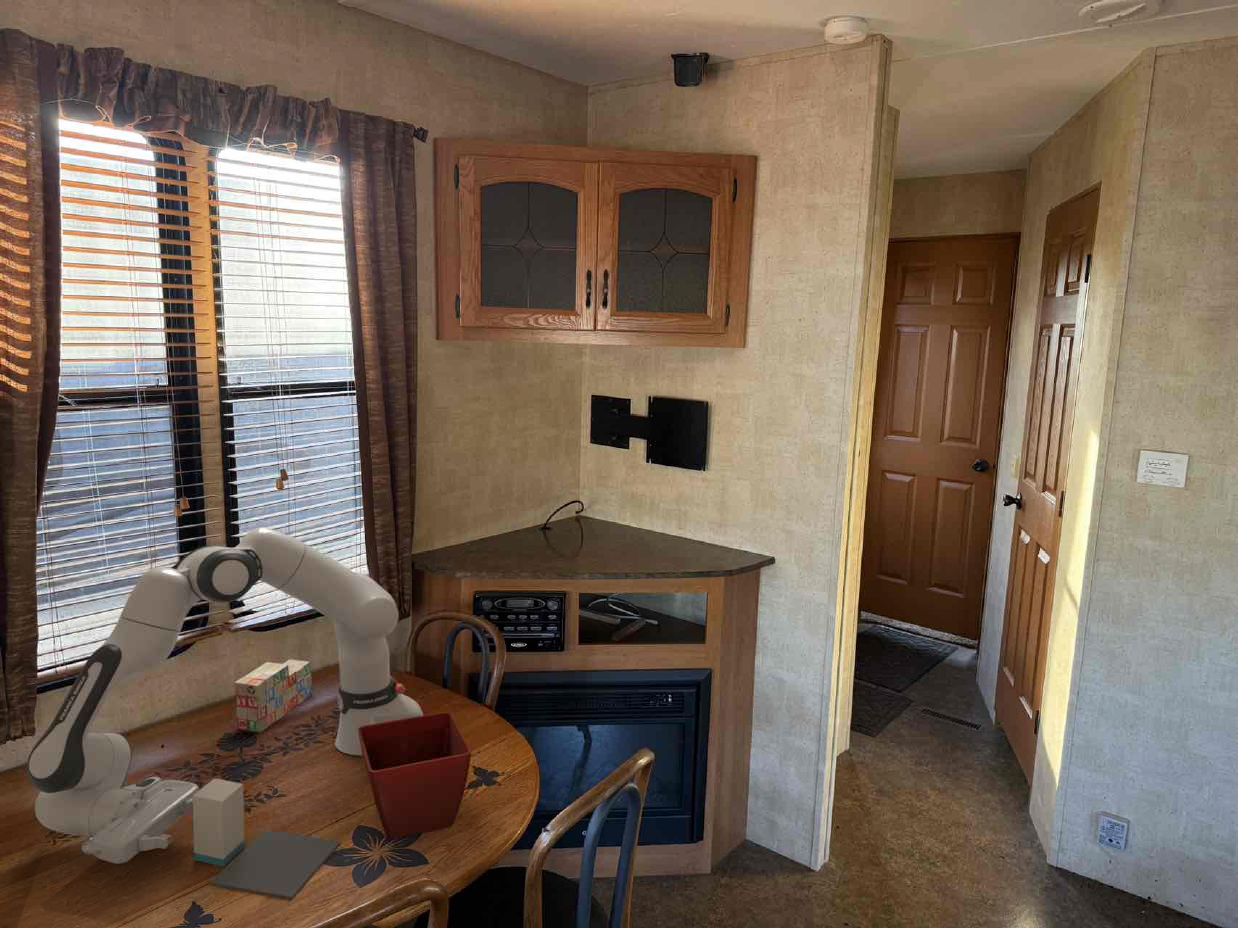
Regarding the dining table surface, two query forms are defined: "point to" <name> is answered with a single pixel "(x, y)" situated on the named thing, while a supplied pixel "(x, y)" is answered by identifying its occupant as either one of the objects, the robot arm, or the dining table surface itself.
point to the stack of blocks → (271, 693)
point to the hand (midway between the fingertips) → (187, 826)
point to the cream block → (218, 822)
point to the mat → (276, 864)
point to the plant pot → (416, 772)
